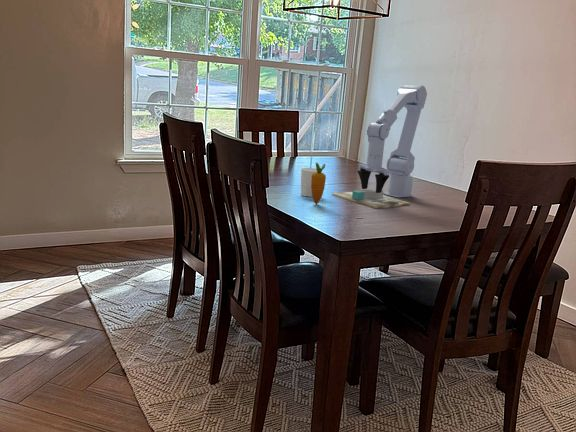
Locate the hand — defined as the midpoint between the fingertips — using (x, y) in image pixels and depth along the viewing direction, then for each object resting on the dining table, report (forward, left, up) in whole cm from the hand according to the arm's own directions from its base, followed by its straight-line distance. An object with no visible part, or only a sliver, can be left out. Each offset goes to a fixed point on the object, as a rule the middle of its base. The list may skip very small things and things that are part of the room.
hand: (371, 190), depth 203 cm
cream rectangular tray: (0, 0, -4) cm, 4 cm away
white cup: (+18, -15, -4) cm, 24 cm away
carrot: (+26, -1, -4) cm, 26 cm away
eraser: (0, 0, -3) cm, 3 cm away
